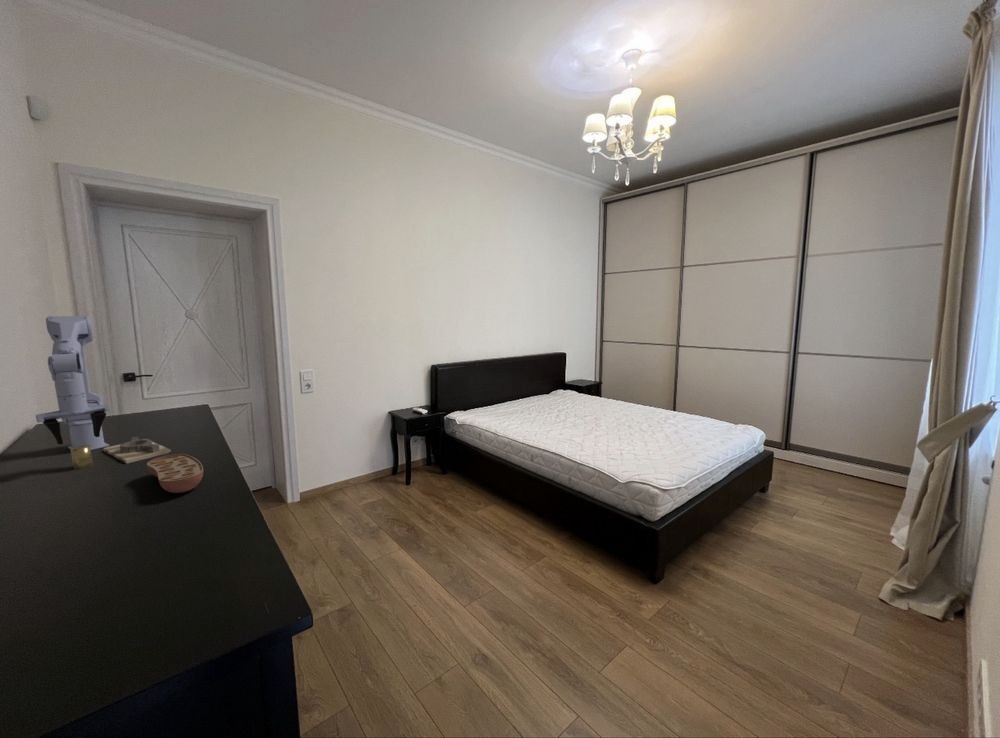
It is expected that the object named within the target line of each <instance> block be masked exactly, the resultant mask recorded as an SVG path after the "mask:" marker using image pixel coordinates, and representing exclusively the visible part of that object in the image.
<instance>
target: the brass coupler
mask: <svg viewBox="0 0 1000 738" xmlns="http://www.w3.org/2000/svg"><path fill="white" fill-rule="evenodd" d="M69 450H70V454H71V461H72V465H73V470H83V469H87V468H90V467H92V466H94V461H93V456H92V455H93V454H92V450H91V449H90V445H81V446H76V447H73V448H71V449H69Z"/></svg>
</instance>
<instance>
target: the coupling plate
mask: <svg viewBox="0 0 1000 738" xmlns="http://www.w3.org/2000/svg"><path fill="white" fill-rule="evenodd" d="M139 437H140V436H132V437H131V440H130V441H129V440H128V441H126V442H123V443H120V444H117V445H115V444H114V445H111V446H107V447H103V452H105V453H106V454H109V455H110V456H112V457H114V458H116V459H117V460H120V461H121V462H123V463H125V464H130V463H134V462H139V461H142V460H146V459H150V458H155V457H158V456H162V455H167V454H169V452H170V453H171V449H170V448H168V447H166V446H163V445H161V444H159V443H157V442H154V441H152V439H150V438H142V439H140V438H139Z"/></svg>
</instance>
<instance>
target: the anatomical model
mask: <svg viewBox="0 0 1000 738" xmlns="http://www.w3.org/2000/svg"><path fill="white" fill-rule="evenodd" d="M146 467H147V469H148V471H149V473H151V475H153V476H155V477H157V478H158V482H159V485H160V487H161V488H162V489H163V490H165V491H167V492H168V493H172V494H184V493H186V491H187V492H189V491H192V490H193V489H194V488H196V487H198V485H199V484H200V482H201V481H202V479H203V476H204V467H203V465H202V463H201V462H200V460H198V459H197V458H196V457H193V456H191V455H189V454H187V453H186V454H184V453H176V454H168V455H167V454H166V455H163V456H160V457H156V458H153V459H151V460H150V461H148V462H147V463H146Z"/></svg>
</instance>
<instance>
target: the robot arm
mask: <svg viewBox="0 0 1000 738" xmlns="http://www.w3.org/2000/svg"><path fill="white" fill-rule="evenodd" d="M45 323H46V324H45V325H46V329H47V333H48V335H49V336H50V339H51V340H52V342H53V343H52V352H51V356H48V357H47V366H48V370H49V372H50V375H51V379H52V381H53V382H54V388H55V395H56V399H57V406H58V410H54V411H50V412H44V413H40V414H35V417H36V418H35V419H36V422H37V423H42V424H43V425H44V426H45V427H46V428H47V429H48V430H49V432H50V433H51V434H52V435H53V437H54V438H55V440H56V441H55V442H56V443H57V445H63V444H64V442H63V437H62V434H61V423H60V422H59V419H61V421H62V423H64V424H68V426H69V436H70V443H71V445H70V446H69V445H68V446H67V448H68V449H69V450H70V449H71V448H73V447H76V446H81V445H90V449H91V451H93V450H98V449H102V448H103V449H104V448H106V447H110V444H109V443H106V442H105V439H104V432H103V426H102V425H103V422H104V421H105V418H106V417H107V412H109V411H110V405H109V404H107V403H104V398H103V397H102V396H101V395H100V394H97V393H94V392H93V391H91V388H90V378H89V373H88V371H89V370H88V364H87V357H86V346H87V344H89V343H91V342H93V341H94V332H93V331H94V330H93V329H94V328H93V322H92V318H91V317H90V316H89V315H79V316H78V315H74V316H73V315H59V316H58V315H56V316H54V315H53V316H52V315H48V316H47V317H46V318H45Z"/></svg>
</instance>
